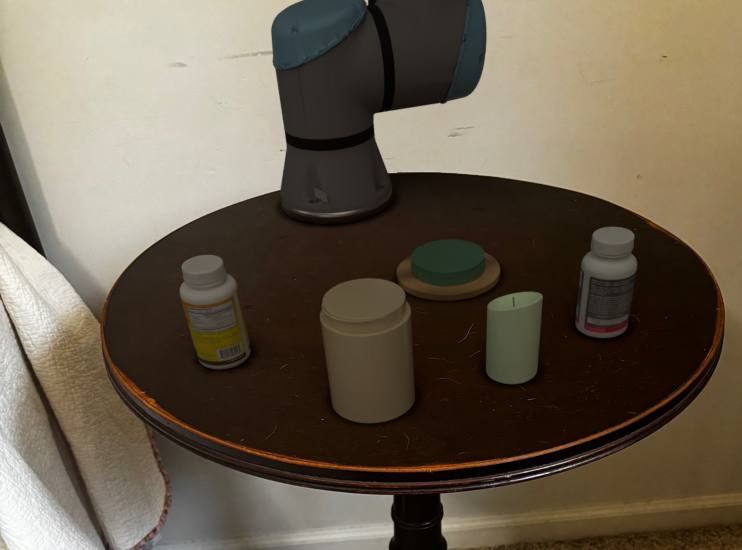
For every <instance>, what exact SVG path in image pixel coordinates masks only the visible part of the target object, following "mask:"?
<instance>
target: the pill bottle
mask: <svg viewBox="0 0 742 550" xmlns="http://www.w3.org/2000/svg"><path fill="white" fill-rule="evenodd" d="M635 237H636V236H635V233H633V231H632V230H630V229H628V228H624V227H620V226H604V227H601V228H598V229H596V230H595V231H593V233H592V235H591V241H590V251H588V252H587V253H586V254H585V255H584V256H583V258H582V260H581V263H580V264H581V265H580V271H579V272H580V273H579V275H580V276H579V282H578V292H577V302H576V311H575V327H576V329H577V330H578V331H579V332H580V333H581V334H583V335H585V336H588V337H591V338H597V339H611V338H616V337H618V336H620V335H622V334H623V333H624V332H626V331H627V329H628V325H629V320H630V314H631V308H632V307H631V306H632V302H633V295H634V288H635V284H636V276H637V273H638V272H637V271H638V261H637V258H636V256H634V254H632V252H633V250H634V247H635Z"/></svg>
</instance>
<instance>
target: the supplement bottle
mask: <svg viewBox="0 0 742 550" xmlns="http://www.w3.org/2000/svg"><path fill="white" fill-rule="evenodd" d="M181 272H182V279H183V282H182V283H181V285H180V286H179V297H180V300H181V303H182V308H183V310H184V315H185V318H186V321H187V325H188V329H189V332H190V335H191V340H192V343H193V347H194V350H195V353H196V357H197V360H198V362H199V363H200V364H201V365H202V366H203V367H205V368H208V369H212V370H227V369H232V368H235V367H237V366H240V365H241V364H243V363H244V362H246V361H247V360H248V359H249V357H250V355H251V353H252V352H251V350H252V348H251V343H250V338H249V334H248V330H247V325H246V320H245V319H246V318H245V314H244V309H243V306H242V301H241V296H240V292H239V287H238V283H237V280H236V278H234V277H233V275H231V274H229V273H227V269H226V267H225V263H224V260H223V258H222V257H221V256H218V255H215V254H201V255H195V256H192V257H191V258H188V259H186V260H185V261H184V262H183V263H182V264H181Z"/></svg>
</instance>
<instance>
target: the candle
mask: <svg viewBox="0 0 742 550" xmlns="http://www.w3.org/2000/svg"><path fill="white" fill-rule="evenodd" d="M543 301H544V297H543V294H542V293H540V292H538V291H521V292H514V293H509V294H505V295H502V296H499V297H497V298H495V299H492V300H491V301H490V302H488V304H487V306H486V343H485V344H486V345H485V346H486V348H485V349H486V350H485V373H486V374H487V376H488V377H489V378H490V379H492V380H493V381H495V382H497V383H500V384H505V385H519V384H523V383H526V382H528V381H531V380H532V379H534V377H535V376H536V375H537V373H538V366H539V353H540V341H541V339H540V338H541V328H542V327H541V326H542V315H543V314H542V313H543Z"/></svg>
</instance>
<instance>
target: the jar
mask: <svg viewBox="0 0 742 550" xmlns="http://www.w3.org/2000/svg"><path fill="white" fill-rule="evenodd" d="M406 298H407V296H406V291H405V290H403V289H402V288H401V287H400V285H399V284H397V283H395V282H393V281H390V280H387V279H383V278H372V277H371V278H370V277H368V278H367V277H366V278H358V279H357V278H356V279H351V280H347V281H344V282H341V283H338V284H336V285H334V286H332V287H331V288H330V289H329V290H327V291H326V292H325V294H324V295H323V297H322V303H321V305H320V306H321V311H320V313H319V322H320V331H321V337H322V344H323V350H324V351H323V352H324V358H325V365H326V372H327V379H328V386H329V387H328V388H329V394H330V401H331V406H332V408H333V410H334V412H336V413H337V415H339V417H342V418H344V419H346V420H349V421H351V422H355V423H359V424H378V423H379V424H380V423H385V422H389V421H392V420H394V419H397V418H399V417H401V416H402V415H404V414H406V413H407V412H408V411H409V410H410V409H411V408H412V407H413V405H414V403H415V401H416V381H415V363H414V345H413V344H414V343H413V324H412V323H413V321H412V307H411V306H410V304H409V302H408V301H407V299H406Z"/></svg>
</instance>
